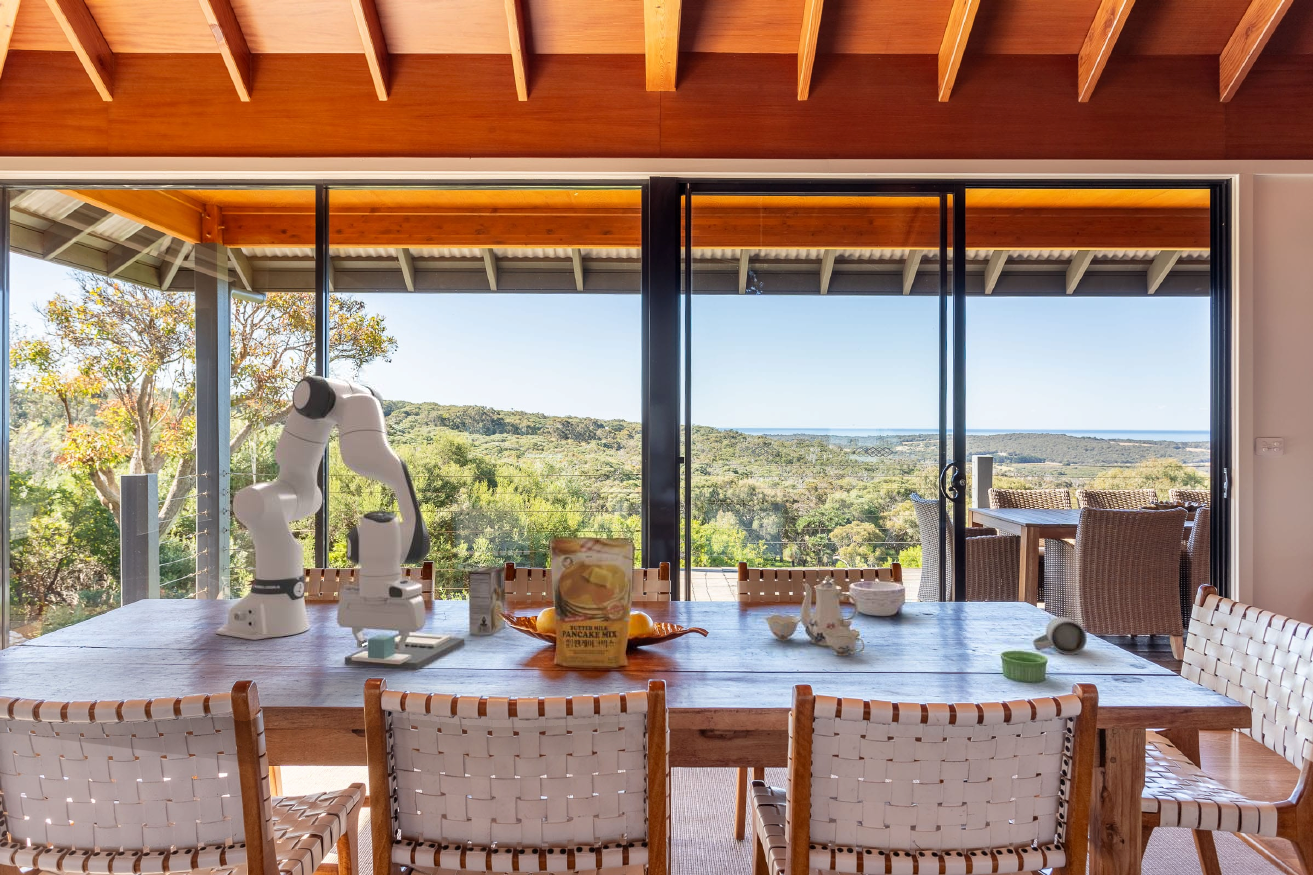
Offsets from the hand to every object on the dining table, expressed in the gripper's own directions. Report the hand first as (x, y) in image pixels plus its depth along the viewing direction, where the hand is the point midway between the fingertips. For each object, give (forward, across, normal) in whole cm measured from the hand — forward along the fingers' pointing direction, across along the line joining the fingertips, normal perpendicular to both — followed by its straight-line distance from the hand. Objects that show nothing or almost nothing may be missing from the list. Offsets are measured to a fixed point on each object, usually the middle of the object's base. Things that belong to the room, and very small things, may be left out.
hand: (380, 648), depth 173 cm
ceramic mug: (+4, +147, +52) cm, 156 cm away
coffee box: (+4, +8, +35) cm, 36 cm away
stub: (+2, 0, 0) cm, 2 cm away
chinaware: (+4, +92, +44) cm, 102 cm away
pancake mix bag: (+4, +44, +14) cm, 46 cm away
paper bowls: (+4, +106, +81) cm, 133 cm away
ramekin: (+4, +135, +28) cm, 138 cm away
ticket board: (+4, 0, +11) cm, 11 cm away
